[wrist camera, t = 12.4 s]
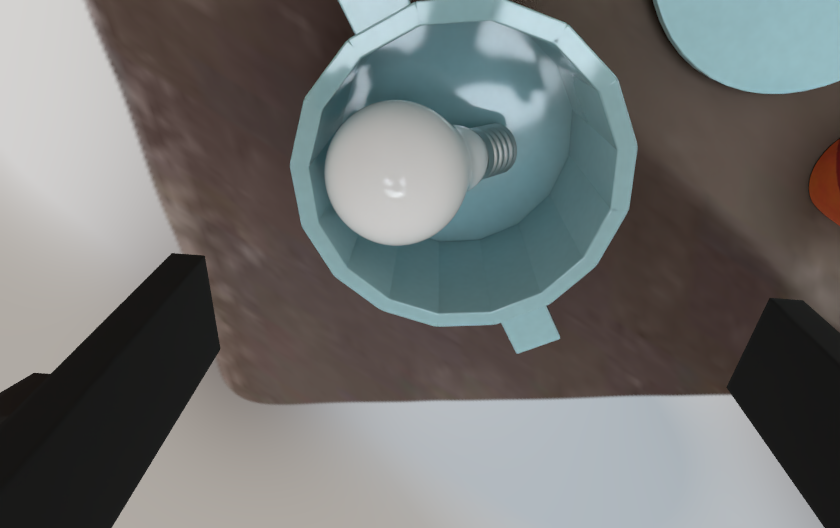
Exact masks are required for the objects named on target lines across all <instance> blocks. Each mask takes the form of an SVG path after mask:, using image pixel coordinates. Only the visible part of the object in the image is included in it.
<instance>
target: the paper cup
mask: <svg viewBox="0 0 840 528" xmlns="http://www.w3.org/2000/svg"><path fill="white" fill-rule="evenodd" d="M809 193H810V197H811V200H812V202H813V204H814V205H815V206H816V207H817V208H818V209H819V210H820V211H821V212H822V213H823V214H824V215H826V216H827V217H828V218H830V219H831V220H832V221H834V222H835V223H836V224H838V225H839V226H840V139H839V140H837V141H836V142H835V143H834V144H832V145H831V146H830V147H829V148H828V149H827V150H826V151H825V152H824V154H823V155H822V156H821V157H820V159H819V160H818V162H817V163H816V165H815V167H814V169H813V171H812V174H811V177H810V182H809Z"/></svg>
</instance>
